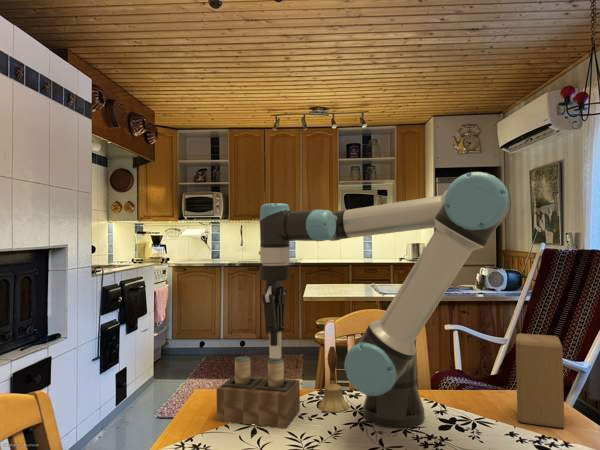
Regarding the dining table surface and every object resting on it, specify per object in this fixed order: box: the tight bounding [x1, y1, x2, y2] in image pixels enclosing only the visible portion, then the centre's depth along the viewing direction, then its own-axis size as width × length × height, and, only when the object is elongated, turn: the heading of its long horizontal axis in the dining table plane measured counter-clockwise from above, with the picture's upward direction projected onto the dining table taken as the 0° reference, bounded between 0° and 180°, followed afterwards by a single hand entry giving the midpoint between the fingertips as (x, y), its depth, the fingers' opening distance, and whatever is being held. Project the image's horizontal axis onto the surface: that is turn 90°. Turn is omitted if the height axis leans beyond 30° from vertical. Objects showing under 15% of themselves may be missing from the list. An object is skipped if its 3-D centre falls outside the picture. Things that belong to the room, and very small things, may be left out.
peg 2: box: [267, 358, 285, 388], centre depth 119 cm, size 4×4×8 cm
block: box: [515, 333, 565, 429], centre depth 116 cm, size 10×10×20 cm
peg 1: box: [234, 356, 252, 385], centre depth 121 cm, size 4×4×8 cm
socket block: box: [216, 375, 301, 429], centre depth 120 cm, size 18×12×8 cm, turn 74°
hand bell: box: [317, 345, 350, 413], centre depth 126 cm, size 8×8×16 cm
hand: (275, 357), depth 119 cm, fingers closed
